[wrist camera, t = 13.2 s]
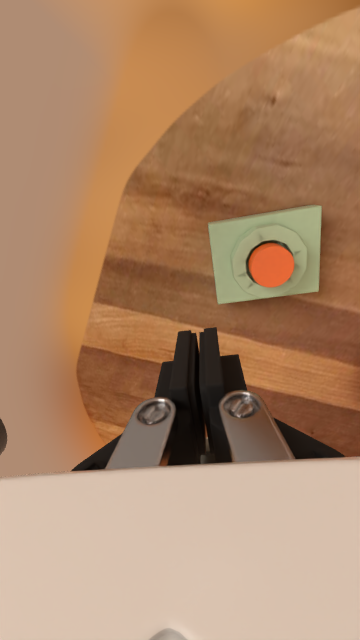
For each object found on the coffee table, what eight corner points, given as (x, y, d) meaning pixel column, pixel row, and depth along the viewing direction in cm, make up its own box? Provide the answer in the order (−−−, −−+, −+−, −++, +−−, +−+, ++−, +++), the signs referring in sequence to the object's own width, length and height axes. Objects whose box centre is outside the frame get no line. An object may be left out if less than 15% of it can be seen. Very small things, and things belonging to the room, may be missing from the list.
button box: (217, 297, 31) (218, 311, 27) (207, 222, 27) (208, 227, 24) (311, 284, 29) (326, 298, 26) (313, 204, 26) (330, 206, 22)
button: (249, 284, 26) (252, 290, 24) (246, 246, 25) (249, 249, 23) (289, 279, 26) (294, 284, 24) (288, 239, 24) (294, 243, 22)
